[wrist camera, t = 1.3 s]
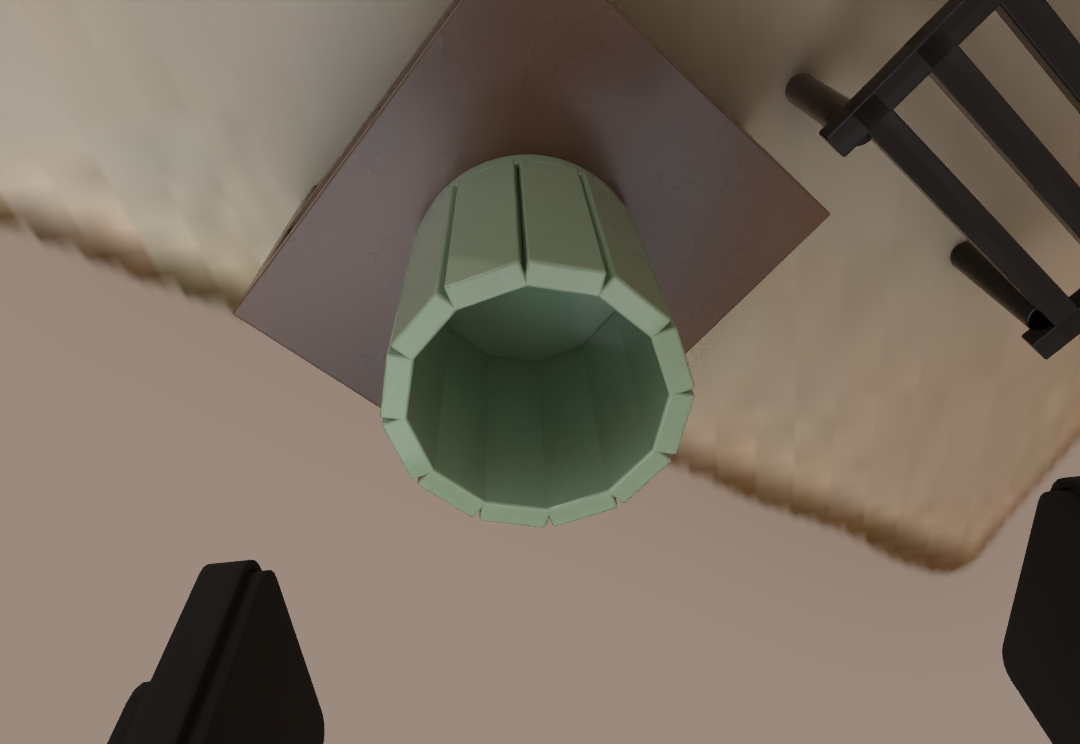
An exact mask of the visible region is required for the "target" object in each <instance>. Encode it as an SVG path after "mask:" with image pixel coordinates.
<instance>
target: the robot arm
mask: <svg viewBox="0 0 1080 744" xmlns="http://www.w3.org/2000/svg"><path fill="white" fill-rule="evenodd" d="M1002 654H1003V661H1004V665H1005V668H1006V671H1007V673H1008V675H1009V677H1010V679H1011V681H1012V682H1013V684H1014V685H1015V687H1016V688H1017V690H1018V691H1019V693H1020V694H1021V696H1022V698H1023V699H1024V701H1025V702H1026V704H1027V705H1028V707H1029V708H1030V710H1031V711H1032V713H1033V714H1034V716H1035V718H1036V719H1037V721H1038V722H1039V724H1040V725H1041V727H1042V728H1043V730H1044V731H1045V733H1046V734H1047V736H1048V737H1049V739H1050V740H1051V742H1052V744H1080V476H1077V477H1068V478H1061V479H1058V480H1057V481H1056V482H1055V483H1054V484H1053V486H1052V488H1051V490H1050V492H1045V493H1043V494H1042V495H1041V496H1040V499H1039V501H1038V505H1037V509H1036V513H1035V517H1034V521H1033V525H1032V529H1031V533H1030V537H1029V542H1028V545H1027V549H1026V554H1025V558H1024V562H1023V566H1022V570H1021V574H1020V578H1019V582H1018V586H1017V590H1016V594H1015V598H1014V602H1013V606H1012V610H1011V614H1010V619H1009V623H1008V627H1007V631H1006V635H1005V639H1004V643H1003V649H1002ZM323 742H324V719H323V714H322V711H321V708H320V705H319V702H318V699H317V696H316V693H315V690H314V687H313V684H312V681H311V678H310V675H309V672H308V669H307V666H306V663H305V661H304V657H303V655H302V652H301V649H300V646H299V643H298V640H297V637H296V634H295V631H294V628H293V625H292V622H291V619H290V616H289V613H288V611H287V607H286V604H285V601H284V599H283V595H282V592H281V590H280V587H279V584H278V581H277V578H276V576H275V573H274V572H273V571H272V570H266V571H262V570H261V568H260V566H259V564H258V563H257V562H256V561H255V560H245V561H235V562H226V563H216V564H208V565H206V566H205V567H203V569H202V571H201V572H200V574H199V576H198V578H197V580H196V582H195V585H194V587H193V589H192V591H191V593H190V596H189V598H188V600H187V602H186V604H185V607H184V609H183V611H182V613H181V615H180V617H179V620H178V622H177V624H176V626H175V629H174V631H173V633H172V635H171V637H170V639H169V642H168V644H167V646H166V648H165V650H164V653H163V655H162V657H161V659H160V661H159V664H158V666H157V668H156V670H155V673H154V675H153V677H152V679H151V681H149V682H144V683H142V684H141V685H140V686H138V687H137V688H136V689H135V690H134V692H133V693H132V695H131V696H130V698H129V700H128V701H127V703H126V705H125V707H124V709H123V711H122V714H121V716H120V718H119V720H118V722H117V724H116V726H115V728H114V730H113V733H112V735H111V737H110V739H109V741H108V743H107V744H323Z"/></svg>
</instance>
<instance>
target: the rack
mask: <svg viewBox="0 0 1080 744" xmlns="http://www.w3.org/2000/svg"><path fill="white" fill-rule="evenodd" d="M994 10H995V11H996V12H997V13H998V14H999V16H1000V17H1001V18H1002V19H1003V21H1004V22H1005V23H1006V24H1007V25H1008V27H1009V28H1010V29H1011V30H1012V32H1013V33H1014V34H1015V35H1016V36H1017V38H1018V39H1019V40H1020V41H1021V43H1022V44H1023V45H1024V46H1025V47H1026V49H1027V50H1028V51H1029V52H1030V54H1031V55H1032V56H1033V57H1034V58H1035V60H1036V61H1037V62H1038V63H1039V65H1040V66H1041V67H1042V68H1043V69H1044V71H1045V72H1046V73H1047V74H1048V76H1049V77H1050V78H1051V79H1052V81H1053V82H1054V83H1055V84H1056V85H1057V87H1058V88H1059V89H1060V90H1061V92H1062V93H1063V94H1064V95H1065V96H1066V98H1067V99H1068V100H1069V101H1070V103H1071V104H1072V105H1073V106H1074V107H1075V109H1076V110H1077V111H1078V112H1079V114H1080V43H1079V42H1078V41H1077V40H1076V38H1075V37H1074V36H1073V34H1072V33H1071V32H1070V31H1069V29H1068V28H1067V27H1066V25H1065V24H1064V23H1063V22H1062V20H1061V19H1060V18H1059V16H1058V15H1057V14H1056V13H1055V11H1054V10H1053V9H1052V8H1051V6H1050V5H1049V4H1048V2H1047V1H1046V0H949V1H948V2H947V3H946V4H945V5H944V6H943V7H942V8H941V9H940V10H939V11H938V12H937V13H936V14H935V15H934V16H933V17H932V18H931V19H930V20H929V21H928V22H926V23H925V24H924V25H923V27H922V28H921V29H920V30H919V31H918V32H917V33H916V34H915V35H914V36H913V37H912V38H911V39H910V40H909V41H908V42H907V43H906V44H905V45H904V46H903V47H902V48H901V49H900V50H899V51H898V52H897V53H896V54H895V55H894V56H893V57H892V58H891V59H890V60H889V61H888V62H887V63H886V64H885V65H884V66H883V68H882V69H881V70H880V71H879V72H878V73H877V74H876V75H875V76H874V77H873V78H872V79H871V80H870V81H869V82H868V83H867V84H866V85H865V86H864V87H863V88H862V89H861V90H860V91H859V92H858V93H857V94H856V95H855V96H854V97H853V98H852V99H849V98H847V97H846V96H844V95H842V94H841V93H839V92H837V91H836V90H834V89H832V88H831V87H829V86H828V85H826V84H824V83H823V82H821V81H819V80H818V79H816V78H814V77H813V76H811V75H809V74H805V73H802V74H798V75H796V76H794V77H793V78H792V79H791V80H790V81H789V83H788V85H787V88H786V96H787V98H788V100H789V101H790V102H791V103H792V104H794V105H795V106H796V107H798V108H799V109H800V110H802V111H803V112H805V113H806V114H807V115H809V116H810V117H811V118H813V119H814V120H815V121H817V122H818V123H819V124H821V125H822V126H824V127H823V128H822V129H821V130H820V132H819V135H820V136H821V137H822V138H823V139H824V140H825V141H826V142H827V143H828V144H829V145H830V146H831V147H832V148H833V149H834V150H835V151H836V152H838V153H839V154H840V155H842V156H843V157H845V156H847V155H848V154H849V153H850V152H851V151H852V150H853V149H854V148H855V147H856V146H860V145H863V144H865V143H867V142H868V141H870V140H872V141H873V142H874V143H875V144H876V145H877V146H878V147H879V148H880V150H881V151H882V152H883V153H884V154H885V155H886V156H887V157H888V158H889V159H890V160H891V161H892V162H893V163H894V164H895V165H896V166H897V167H898V168H899V169H900V170H901V171H902V172H903V173H904V174H905V175H906V176H907V177H908V178H909V179H910V180H911V182H912V183H913V184H914V185H915V186H916V187H917V188H918V189H919V190H920V191H921V192H922V193H923V194H924V195H925V196H926V197H927V198H928V199H929V200H930V201H931V202H932V203H933V204H934V205H935V206H936V207H937V208H938V209H939V210H940V211H941V212H942V214H943V215H944V216H945V217H946V218H947V219H948V220H949V221H950V222H951V223H952V224H953V225H954V226H955V227H956V228H957V229H958V230H959V231H960V232H961V233H962V234H963V235H964V236H965V237H966V238H967V239H968V240H969V241H970V242H971V243H962V244H960V245H958V246H957V247H956V248H955V249H954V250H953V252H952V254H951V263H952V264H953V266H955V267H956V268H957V269H958V270H959V271H961V272H962V273H963V274H964V275H966V276H967V277H968V278H969V279H970V280H972V281H973V282H974V283H975V284H976V285H978V286H979V287H980V288H981V289H982V290H984V291H985V292H986V293H987V294H988V295H990V296H991V297H992V298H993V299H994V300H996V301H997V302H998V303H999V304H1000V305H1002V306H1003V307H1004V308H1005V309H1006V310H1008V311H1009V312H1010V313H1011V314H1012V315H1014V316H1015V317H1016V318H1017V319H1018V320H1020V321H1021V322H1022V323H1023V324H1024V325H1026V326H1027V327H1028V328H1029V330H1028V331H1027V332H1025V333H1024V334H1023V335H1022V338H1023V339H1024V340H1025V341H1026V342H1027V343H1028V344H1029V345H1030V346H1031V347H1032V348H1033V349H1034V350H1035V351H1036V352H1037V353H1039V354H1040V355H1041V356H1042V357H1043V358H1044V359H1048V358H1049V357H1051V356H1052V355H1053V354H1054V353H1056V352H1057V351H1058V350H1060V349H1061V348H1062V347H1063V346H1065V345H1066V344H1067V343H1068V342H1070V341H1071V340H1072V339H1074V338H1075V337H1076V336H1077V335H1079V334H1080V289H1079V290H1077V291H1076V292H1075V293H1074V294H1072V295H1071V296H1070V297H1068V296H1067V295H1066V294H1065V293H1064V292H1063V291H1062V290H1061V289H1060V288H1059V286H1058V285H1057V284H1056V283H1055V282H1054V281H1053V280H1052V279H1051V278H1050V277H1049V276H1048V275H1047V274H1046V273H1045V271H1044V270H1043V269H1042V268H1041V267H1040V266H1039V265H1038V264H1037V263H1036V262H1035V261H1034V260H1033V259H1032V258H1031V257H1030V255H1029V254H1028V253H1027V252H1026V251H1025V250H1024V249H1023V248H1022V247H1021V246H1020V245H1019V244H1018V243H1017V242H1016V241H1015V239H1014V238H1013V237H1012V236H1011V235H1010V234H1009V233H1008V232H1007V231H1006V230H1005V229H1004V228H1003V227H1002V226H1001V224H1000V223H999V222H998V221H997V220H996V219H995V218H994V217H993V216H992V215H991V214H990V213H989V212H988V211H987V210H986V208H985V207H984V206H983V205H982V204H981V203H980V202H979V201H978V200H977V199H976V198H975V197H974V196H973V195H972V193H971V192H970V191H969V190H968V189H967V188H966V187H965V186H964V185H963V184H962V183H961V182H960V181H959V180H958V179H957V177H956V176H955V175H954V174H953V173H952V172H951V171H950V170H949V169H948V168H947V167H946V166H945V165H944V164H943V162H942V161H941V160H940V159H939V158H938V157H937V156H936V155H935V154H934V153H933V152H932V151H931V150H930V149H929V148H928V146H927V145H926V144H925V143H924V142H923V141H922V140H921V139H920V138H919V137H918V136H917V135H916V134H915V133H914V131H913V130H912V129H911V128H910V127H909V126H908V125H907V124H906V123H905V122H904V121H903V120H902V119H901V118H900V117H899V115H898V114H897V113H896V112H895V111H894V110H893V109H894V108H895V107H896V106H897V105H898V104H899V103H900V102H901V101H902V100H903V99H904V98H905V97H906V96H907V95H908V94H909V93H911V92H912V91H913V90H914V89H915V88H916V87H917V86H918V85H919V84H920V83H921V82H922V81H923V80H924V79H925V78H926V77H927V76H928V75H929V76H930V77H931V78H932V79H933V80H934V82H935V83H936V84H937V85H938V86H939V87H940V88H941V89H942V91H943V92H944V93H945V94H946V95H947V96H948V97H949V98H950V100H951V101H952V102H953V103H954V104H955V105H956V106H957V107H958V108H959V110H960V111H961V112H962V113H963V114H964V115H965V116H966V117H967V119H968V120H969V121H970V122H971V123H972V124H973V125H974V126H975V128H976V129H977V130H978V131H979V132H980V133H981V134H982V135H983V136H984V138H985V139H986V140H987V141H988V142H989V143H990V144H991V145H992V147H993V148H994V149H995V150H996V151H997V152H998V153H999V154H1000V156H1001V157H1002V158H1003V159H1004V160H1005V161H1006V162H1007V163H1008V165H1009V166H1010V167H1011V168H1012V169H1013V170H1014V171H1015V172H1016V173H1017V175H1018V176H1019V177H1020V178H1021V179H1022V180H1023V181H1024V182H1025V184H1026V185H1027V186H1028V187H1029V188H1030V189H1031V190H1032V191H1033V193H1034V194H1035V195H1036V196H1037V197H1038V198H1039V199H1040V200H1041V201H1042V203H1043V204H1044V205H1045V206H1046V207H1047V208H1048V209H1049V210H1050V212H1051V213H1052V214H1053V215H1054V216H1055V217H1056V218H1057V219H1058V221H1059V222H1060V223H1061V224H1062V225H1063V226H1064V227H1065V228H1066V229H1067V231H1068V232H1069V233H1070V234H1071V235H1072V236H1073V237H1074V238H1075V240H1076V241H1077V242H1078V243H1079V244H1080V187H1079V186H1078V185H1077V183H1076V182H1075V181H1074V180H1073V179H1072V178H1071V176H1070V175H1069V174H1068V173H1067V172H1066V171H1065V169H1064V168H1063V167H1062V166H1061V165H1060V164H1059V162H1058V161H1057V160H1056V159H1055V158H1054V157H1053V155H1052V154H1051V153H1050V152H1049V151H1048V150H1047V148H1046V147H1045V146H1044V145H1043V144H1042V143H1041V141H1040V140H1039V139H1038V138H1037V137H1036V136H1035V134H1034V133H1033V132H1032V131H1031V130H1030V129H1029V127H1028V126H1027V125H1026V124H1025V123H1024V122H1023V120H1022V119H1021V118H1020V117H1019V116H1018V115H1017V113H1016V112H1015V111H1014V110H1013V109H1012V108H1011V106H1010V105H1009V104H1008V103H1007V102H1006V101H1005V99H1004V98H1003V97H1002V96H1001V95H1000V94H999V92H998V91H997V90H996V89H995V88H994V87H993V85H992V84H991V83H990V82H989V81H988V80H987V78H986V77H985V76H984V75H983V74H982V73H981V71H980V70H979V69H978V68H977V67H976V66H975V64H974V63H973V62H972V61H971V60H970V59H969V57H968V56H967V55H966V54H965V53H964V52H963V50H962V49H961V48H960V47H959V46H958V45H959V44H960V43H961V42H962V41H963V40H964V39H965V38H966V37H967V36H968V35H969V34H970V33H971V32H972V31H973V30H974V29H975V28H977V27H978V26H979V25H980V24H981V23H982V22H983V21H984V20H985V19H986V18H987V17H988V16H989V15H990V14H991V13H992V12H993V11H994Z"/></svg>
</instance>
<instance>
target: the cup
mask: <svg viewBox="0 0 1080 744" xmlns="http://www.w3.org/2000/svg"><path fill="white" fill-rule="evenodd" d="M693 388H694V381H693V378H692V375H691V372H690V368H689V365H688V362H687V359H686V355H685V352H684V349H683V346H682V342H681V339H680V336H679V333H678V329H677V327H676V324H675V322H674V319H673V317H672V314H671V312H670V310H669V307H668V305H667V302H666V300H665V297H664V295H663V292H662V290H661V287H660V285H659V282H658V280H657V278H656V275H655V273H654V270H653V268H652V265H651V263H650V260H649V258H648V255H647V253H646V250H645V248H644V246H643V243H642V241H641V238H640V236H639V233H638V231H637V228H636V226H635V223H634V221H633V218H632V216H631V214H628V212H627V209H626V207H625V206H624V205H623V203H622V202H621V201H620V200H619V198H618V197H617V196H616V194H615V193H614V192H613V191H612V190H611V189H610V188H609V187H608V186H607V185H606V184H605V183H604V182H603V181H602V180H600V179H599V178H598V177H596V176H595V175H594V174H592V173H591V172H589V171H587V170H585V169H584V168H582V167H580V166H578V165H576V164H573V163H570V162H568V161H565V160H562V159H558V158H554V157H550V156H543V155H533V154H528V155H512V156H506V157H500V158H497V159H493V160H490V161H487V162H484V163H482V164H480V165H477V166H475V167H473V168H471V169H469V170H468V171H466V172H464V173H463V174H461V175H460V176H458V177H457V178H456V179H454V180H453V181H452V182H451V183H450V184H448V185H447V186H446V187H445V188H444V189H443V190H442V191H441V193H440V194H439V195H438V196H437V197H436V198H435V200H434V201H433V203H432V204H431V205H430V207H429V208H428V210H427V212H426V214H425V216H424V218H423V220H422V222H421V223H420V225H419V227H418V231H417V233H416V234H415V236H414V240H413V245H412V249H411V253H410V257H409V261H408V266H407V270H406V274H405V278H404V282H403V287H402V291H401V295H400V299H399V303H398V308H397V312H396V316H395V320H394V324H393V329H392V333H391V337H390V341H389V345H388V350H387V354H386V361H385V371H384V381H383V390H382V400H381V410H380V416H381V417H382V418H383V422H382V426H383V428H384V430H385V432H386V434H387V435H388V437H389V439H390V441H391V442H392V444H393V446H394V448H395V450H396V452H397V453H398V455H399V457H400V459H401V461H402V463H403V464H404V466H405V468H406V470H407V472H408V473H409V475H410V477H411V478H412V479H414V478H417V477H418V485H419V486H421V487H422V488H424V489H426V490H427V491H429V492H431V493H432V494H434V495H436V496H437V497H439V498H441V499H442V500H444V501H445V502H447V503H449V504H450V505H452V506H454V507H455V508H457V509H459V510H460V511H462V512H464V513H465V514H467V515H469V516H470V517H473V516H474V515H475V514H476V513H477V512H478V511H479V510H480V515H479V517H480V519H481V520H483V521H491V522H500V523H509V524H518V525H528V526H537V527H545V526H546V525H547V521H548V517H549V518H550V520H551V522H552V524H553V525H554V526H558V525H561V524H564V523H568V522H571V521H574V520H578V519H581V518H584V517H588V516H591V515H594V514H598V513H601V512H604V511H607V510H610V509H614V508H616V507H617V502H616V498H617V499H618V500H620V501H622V502H623V503H625V502H627V501H628V500H629V499H630V498H631V497H632V496H633V495H634V494H635V493H637V492H638V491H639V490H640V489H641V488H642V487H643V486H644V485H645V484H647V483H648V482H649V481H650V480H651V479H652V478H653V477H654V476H655V475H656V474H658V473H659V472H660V471H661V470H662V469H663V468H664V467H665V466H666V465H668V464H669V463H670V461H671V458H670V455H669V454H676V452H677V450H678V446H679V443H680V440H681V437H682V434H683V431H684V428H685V425H686V422H687V418H688V415H689V412H690V409H691V406H692V403H693V400H694V393H693V391H692V389H693Z"/></svg>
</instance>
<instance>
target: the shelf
mask: <svg viewBox="0 0 1080 744" xmlns="http://www.w3.org/2000/svg"><path fill="white" fill-rule="evenodd" d="M528 154H533V155H543V156H550V157H554V158H558V159H562V160H565V161H568V162H570V163H573V164H576V165H578V166H580V167H582V168H584V169H585V170H587V171H589V172H591V173H592V174H594V175H595V176H596V177H598V178H599V179H600V180H602V181H603V182H604V183H605V184H606V185H607V186H608V187H609V188H610V189H611V190H612V191H613V192H614V193H615V194H616V196H617V197H618V198H619V200H620V201H621V202H622V203H623V205H624V206H625V207H626V209H627V212H628V214H631V216H632V218H633V221H634V223H635V226H636V228H637V231H638V233H639V236H640V238H641V241H642V243H643V246H644V248H645V250H646V253H647V255H648V258H649V260H650V263H651V265H652V268H653V270H654V273H655V275H656V278H657V280H658V282H659V285H660V287H661V290H662V292H663V295H664V297H665V300H666V302H667V305H668V307H669V310H670V312H671V314H672V317H673V319H674V322H675V324H676V327H677V329H678V333H679V336H680V339H681V342H682V346H683V349H684V352H685V354H686V353H687V352H688V351H689V350H690V349H691V348H692V347H693V346H694V345H695V344H696V343H697V342H698V341H699V340H700V339H701V338H702V337H703V336H704V335H705V334H707V333H708V332H709V331H710V330H711V329H712V328H713V327H714V326H715V325H716V324H717V323H718V322H719V321H720V320H721V319H722V318H723V317H724V316H725V315H726V314H727V313H728V312H729V311H730V310H732V309H733V308H734V307H735V306H736V305H737V304H738V303H739V302H740V301H741V300H742V299H743V298H744V297H745V296H746V295H747V294H748V293H749V292H750V291H751V290H752V289H753V288H754V287H755V286H756V285H758V284H759V283H760V282H761V281H762V280H763V279H764V278H765V277H766V276H767V275H768V274H769V273H770V272H771V271H772V270H773V269H774V268H775V267H776V266H777V265H778V264H779V263H780V262H781V261H783V260H784V259H785V258H786V257H787V256H788V255H789V254H790V253H791V252H792V251H793V250H794V249H795V248H796V247H797V246H798V245H799V244H800V243H801V242H802V241H803V240H804V239H805V238H806V237H807V236H809V235H810V234H811V233H812V232H813V231H814V230H815V229H816V228H817V227H818V226H819V225H820V224H821V223H822V222H823V221H824V220H825V219H826V218H827V217H828V216H829V215H830V213H829V212H828V211H827V210H826V209H825V208H824V207H823V206H822V205H821V204H820V203H819V202H818V201H817V200H816V199H815V198H814V197H813V196H812V195H811V194H810V193H809V192H808V191H807V190H806V189H805V188H804V187H803V186H802V185H801V184H800V183H799V182H798V181H797V180H796V179H795V178H794V177H793V176H792V175H790V174H789V173H788V172H787V171H786V170H785V169H784V168H783V167H782V166H781V165H780V164H779V163H778V162H777V161H776V160H775V159H774V158H773V157H772V156H771V155H770V154H769V153H768V152H767V151H766V150H765V149H764V148H763V147H762V146H761V145H760V144H759V143H758V142H757V141H756V140H755V139H754V138H753V137H752V136H751V135H750V134H749V133H748V132H747V131H746V130H745V129H744V128H743V127H742V126H741V125H739V124H738V123H737V122H736V121H735V120H734V119H733V118H732V117H731V116H730V115H729V114H728V113H727V112H726V111H725V110H724V109H723V108H722V107H721V106H720V105H719V104H718V103H716V102H715V101H714V100H713V99H712V98H711V97H710V96H709V95H708V94H707V93H706V92H705V91H704V90H703V89H702V88H701V87H700V86H699V85H698V84H697V83H696V82H695V81H693V80H692V79H691V78H690V77H689V76H688V75H687V74H686V73H685V72H684V71H683V70H682V69H681V68H680V67H679V66H678V65H677V64H676V63H675V62H674V61H673V60H672V59H670V58H669V57H668V56H667V55H666V54H665V53H664V52H663V51H662V50H661V49H660V48H659V47H658V46H657V45H656V44H655V43H654V42H653V41H652V40H651V39H650V38H649V37H647V36H646V35H645V34H644V33H643V32H642V31H641V30H640V29H639V28H638V27H637V26H636V25H635V24H634V23H633V22H632V21H631V20H630V19H629V18H628V17H627V16H626V15H624V14H623V13H622V12H621V11H620V10H619V9H618V8H617V7H616V6H615V5H614V4H613V3H612V2H611V1H610V0H453V2H452V3H451V4H450V6H449V7H448V8H447V10H446V11H445V13H444V14H443V15H442V17H441V18H440V19H439V21H438V22H437V23H436V25H435V26H434V28H433V29H432V30H431V32H430V33H429V34H428V36H427V37H426V39H425V40H424V41H423V43H422V44H421V45H420V47H419V48H418V49H417V51H416V52H415V54H414V55H413V56H412V58H411V59H410V60H409V62H408V63H407V64H406V66H405V67H404V69H403V70H402V71H401V73H400V74H399V75H398V77H397V78H396V80H395V81H394V82H393V84H392V85H391V86H390V88H389V89H388V90H387V92H386V93H385V95H384V96H383V97H382V99H381V100H380V101H379V103H378V104H377V106H376V107H375V108H374V110H373V111H372V112H371V114H370V115H369V116H368V118H367V119H366V121H365V122H364V123H363V125H362V126H361V127H360V129H359V130H358V131H357V133H356V134H355V136H354V137H353V138H352V140H351V141H350V142H349V144H348V145H347V147H346V148H345V149H344V151H343V152H342V153H341V155H340V156H339V157H338V159H337V160H336V162H335V163H334V164H333V166H332V167H331V168H330V170H329V171H328V173H327V174H326V175H325V177H324V178H323V179H322V181H321V182H320V183H319V185H318V186H317V187H316V186H314V187H313V188H312V189H311V190H310V192H309V193H308V194H307V196H306V197H305V199H304V200H303V201H302V203H301V204H300V205H299V207H298V209H297V210H296V212H295V213H294V215H293V217H292V218H291V220H290V221H289V223H288V225H287V226H286V228H285V230H284V231H283V233H282V234H281V236H280V238H279V239H278V241H277V242H276V244H275V246H274V247H273V249H272V250H271V252H270V254H269V255H268V257H267V258H266V260H265V262H264V263H263V265H262V267H261V268H260V270H259V271H258V273H257V275H256V276H255V278H254V279H253V281H252V283H251V284H250V286H249V287H248V289H247V291H246V292H245V294H244V296H243V297H242V299H241V300H240V302H239V303H238V305H237V307H236V308H235V310H234V311H233V314H234V315H235V316H237V317H239V318H240V319H242V320H243V321H245V322H246V323H248V324H250V325H251V326H253V327H254V328H256V329H257V330H259V331H261V332H262V333H264V334H265V335H267V336H269V337H270V338H272V339H273V340H275V341H276V342H278V343H279V344H281V345H283V346H284V347H286V348H287V349H289V350H290V351H292V352H294V353H295V354H297V355H298V356H300V357H301V358H303V359H305V360H306V361H308V362H309V363H311V364H312V365H314V366H316V367H317V368H319V369H320V370H322V371H323V372H325V373H327V374H328V375H330V376H331V377H333V378H334V379H336V380H338V381H339V382H341V383H342V384H344V385H346V386H347V387H349V388H350V389H352V390H353V391H355V392H356V393H358V394H360V395H362V396H363V397H364V398H366V399H367V400H369V401H371V402H372V403H374V404H375V405H377V406H379V407H380V408H381V400H382V390H383V381H384V371H385V361H386V354H387V350H388V345H389V341H390V337H391V333H392V329H393V324H394V320H395V316H396V312H397V308H398V303H399V299H400V295H401V291H402V287H403V282H404V278H405V274H406V270H407V266H408V261H409V257H410V253H411V249H412V245H413V240H414V236H415V234H416V233H417V231H418V227H419V225H420V223H421V222H422V220H423V218H424V216H425V214H426V212H427V210H428V208H429V207H430V205H431V204H432V203H433V201H434V200H435V198H436V197H437V196H438V195H439V194H440V193H441V191H442V190H443V189H444V188H445V187H446V186H447V185H448V184H450V183H451V182H452V181H453V180H454V179H456V178H457V177H458V176H460V175H461V174H463V173H464V172H466V171H468V170H469V169H471V168H473V167H475V166H477V165H480V164H482V163H484V162H487V161H490V160H493V159H497V158H500V157H506V156H512V155H528Z"/></svg>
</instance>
